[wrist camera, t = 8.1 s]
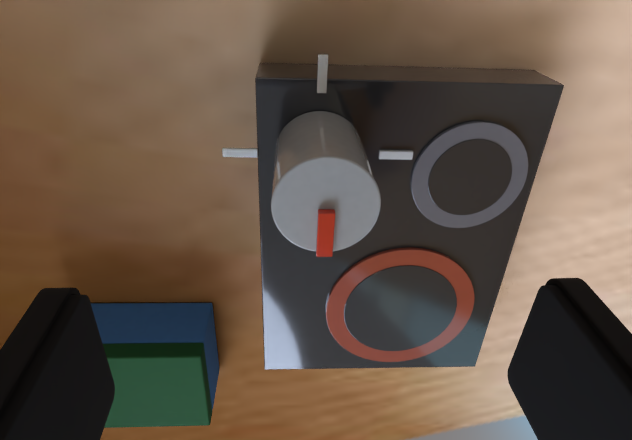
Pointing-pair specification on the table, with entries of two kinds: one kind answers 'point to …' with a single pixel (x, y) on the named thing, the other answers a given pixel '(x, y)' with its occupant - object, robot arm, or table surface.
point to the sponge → (160, 362)
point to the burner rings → (423, 264)
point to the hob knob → (323, 184)
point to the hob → (388, 191)
